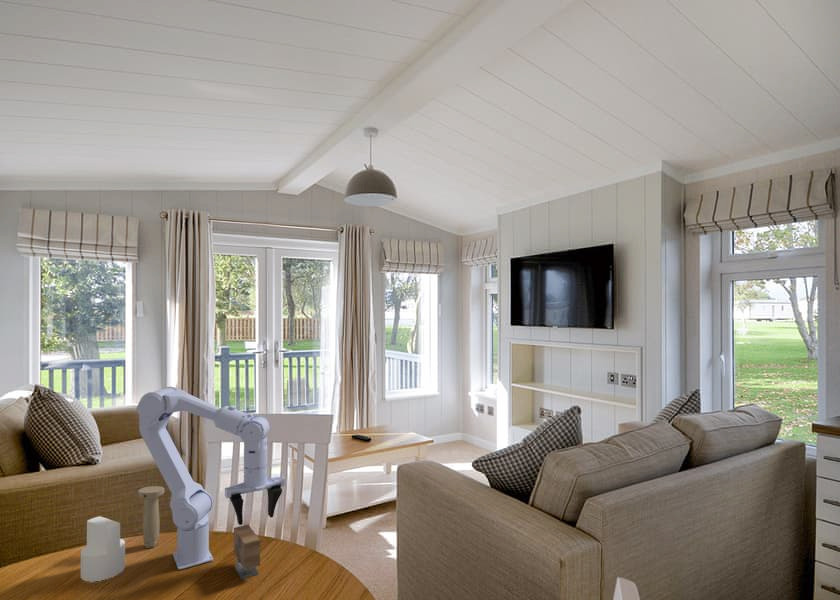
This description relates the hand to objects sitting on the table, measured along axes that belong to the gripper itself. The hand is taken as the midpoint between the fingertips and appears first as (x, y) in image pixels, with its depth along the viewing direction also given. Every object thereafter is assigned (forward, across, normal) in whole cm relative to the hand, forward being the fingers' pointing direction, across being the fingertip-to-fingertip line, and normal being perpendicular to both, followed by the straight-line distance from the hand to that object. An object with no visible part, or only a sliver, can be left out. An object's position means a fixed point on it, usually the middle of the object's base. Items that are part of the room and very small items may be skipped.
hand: (255, 519), depth 125 cm
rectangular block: (+7, -4, -5) cm, 9 cm away
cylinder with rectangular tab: (+10, -32, +15) cm, 37 cm away
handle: (+10, -21, +23) cm, 33 cm away
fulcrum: (+10, -4, -4) cm, 11 cm away
